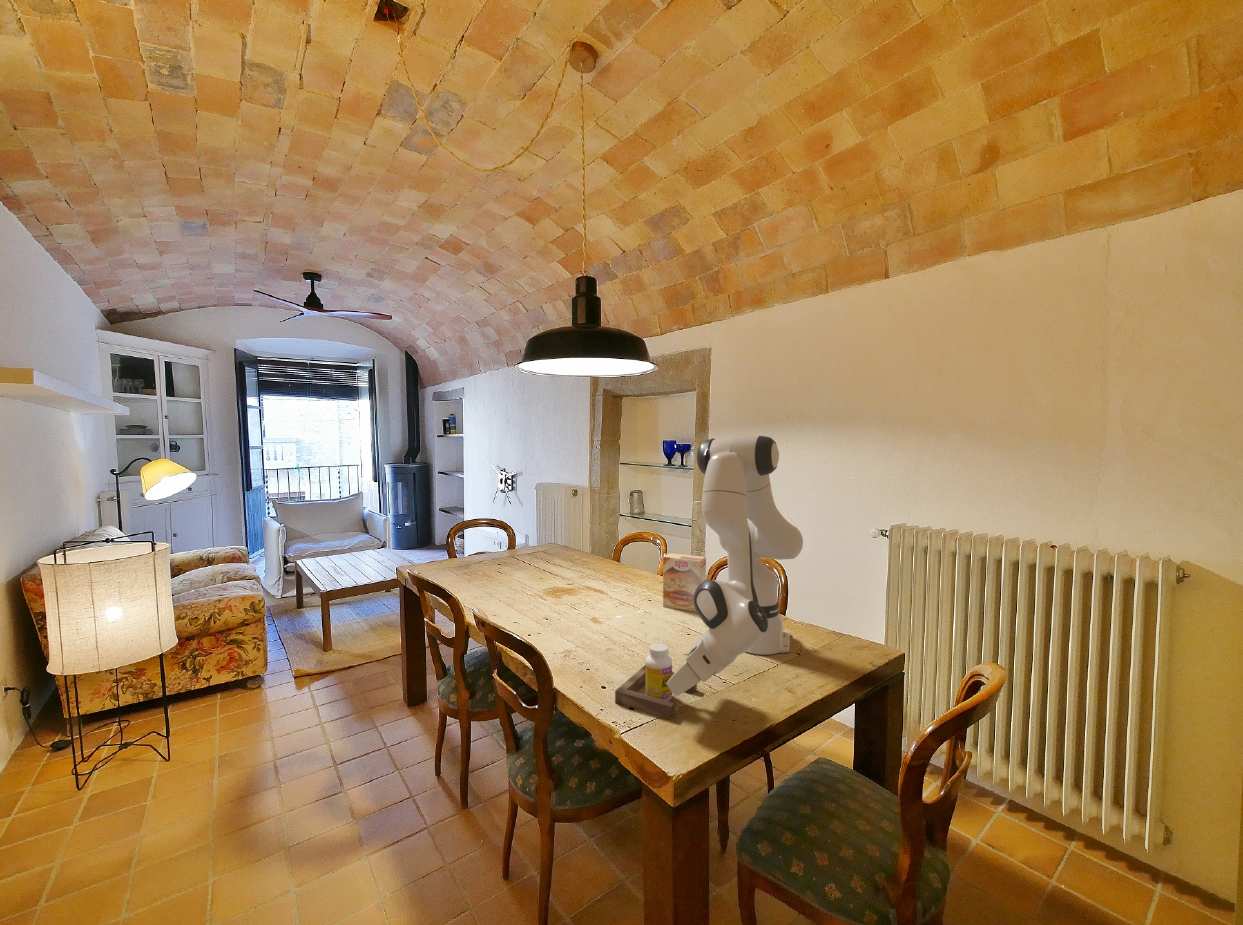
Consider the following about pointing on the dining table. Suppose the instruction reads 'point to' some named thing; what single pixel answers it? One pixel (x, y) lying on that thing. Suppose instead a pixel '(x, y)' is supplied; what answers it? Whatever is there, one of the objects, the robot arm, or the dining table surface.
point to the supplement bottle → (658, 672)
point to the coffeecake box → (682, 580)
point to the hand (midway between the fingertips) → (673, 683)
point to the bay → (644, 697)
